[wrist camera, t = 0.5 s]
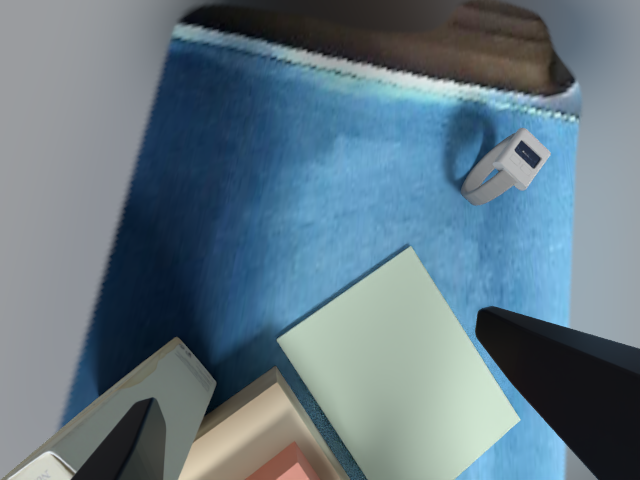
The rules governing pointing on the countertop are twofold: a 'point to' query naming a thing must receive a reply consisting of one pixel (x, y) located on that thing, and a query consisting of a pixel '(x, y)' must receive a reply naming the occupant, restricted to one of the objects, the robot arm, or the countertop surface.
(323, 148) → the countertop surface
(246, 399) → the board
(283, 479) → the salmon pink brick
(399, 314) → the mat
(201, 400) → the skincare box
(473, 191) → the wristwatch
